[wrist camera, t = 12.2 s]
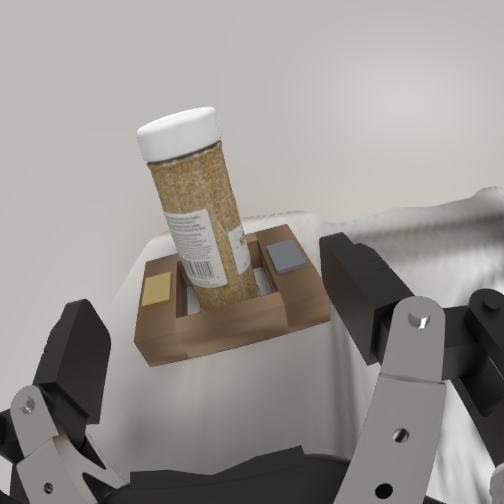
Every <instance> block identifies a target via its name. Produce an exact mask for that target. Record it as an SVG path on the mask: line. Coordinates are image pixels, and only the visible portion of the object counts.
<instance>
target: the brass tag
mask: <svg viewBox="0 0 504 504" xmlns="http://www.w3.org/2000/svg"><path fill="white" fill-rule="evenodd" d="M171 285H172V274H171V272H167V273H164V274H160V275H156V276H152V277H149V278H146V280H145V286H144V293H143V300H142V308H143V309H147V308H151V307H156V306H160V305H164V304H168V303H171Z"/></svg>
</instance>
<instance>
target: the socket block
mask: <svg viewBox="0 0 504 504" xmlns="http://www.w3.org/2000/svg"><path fill="white" fill-rule="evenodd" d="M245 239H246V242H247V246H248V250H249V254H250V261H251V265H252V269H253V268H257V267H260V266H263V267H264V269H265V272H266V274H267V277H268V280H269V282H270V285H271V287H272V290H273V292H274V293H271V294H268V295H264V296H261V297H257V298H253V299H250V300H246V301H242V302H238V303H235V304H231V305H227V306H223V307H219V308H216V309H212V310H208V311H204V312H200V313H196V314H192V315H188V316H187V287H186V286H189V285H192V282H191V281H190V279H189V277H188V275H187V273H186V270H185V268H184V265H183V263H182V260H181V258H180V255H179V253H177V254H173V255H169V256H166V257H162V258H159V259H155V260H151V261H148V262H146V265H145V271H144V277H143V282H142V288H141V295H140V301H139V308H138V314H137V322H136V329H135V337H134V343H135V345H136V346H137V348H138V349H139V351H140V352H141V354H142V355H143V357H144V358H145V360H146V361H147V363H148V364H149V365H150V367H152V366H157V365H162V364H167V363H172V362H176V361H181V360H186V359H190V358H195V357H199V356H204V355H208V354H212V353H216V352H220V351H224V350H228V349H232V348H236V347H240V346H244V345H248V344H252V343H255V342H259V341H263V340H266V339H270V338H274V337H277V336H281V335H284V334H287V333H291V332H294V331H298V330H301V329H304V328H307V327H311V326H314V325H317V324H320V323H323V322H326V321H329V320H330V302H329V296H328V294H327V292H326V290H325V287H324V284H323V281H322V279H321V277H320V276H319V274H318V272H317V271H316V269H315V268H314V266H313V264H312V263H311V261H310V260H309V258H308V256H307V255H306V253H305V252H304V250H303V248H302V247H301V245H300V244H299V242H298V240H297V239H296V237H295V236H294V234H293V233H292V231H291V229H290V228H289V226H288V225H287V224H285V225H281V226H278V227H274V228H270V229H266V230H262V231H258V232H255V233H251V234H247V235H245ZM290 239H293V241H294V243H295V244H296V246H297V248H298V249H299V251H300V253H301V254H302V256H303V257H304V259H305V261H306V262H307V266H306V267H302V268H299V269H295V270H292V271H288V272H284V273H281V274H277V272H276V269H275V267H274V265H273V263H272V260H271V258H270V256H269V254H268V251H267V248H266V246H268V245H272V244H276V243H279V242H283V241H287V240H290ZM167 272H171V274H172V285H171V303H168V304H164V305H160V306H156V307H151V308H147V309H143V308H142V300H143V293H144V286H145V280H146V278H149V277H152V276H156V275H160V274H164V273H167Z"/></svg>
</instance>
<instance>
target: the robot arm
mask: <svg viewBox="0 0 504 504" xmlns="http://www.w3.org/2000/svg"><path fill="white" fill-rule="evenodd" d="M319 246H320V258H321V271H322V280H323V284H324V287H325V290H326V292H327V294H328V296H329V298H330V300H331V301H332V303H333V305H334V307H335V308H336V310H337V312H338V314H339V315H340V317H341V319H342V321H343V323H344V324H345V326H346V328H347V330H348V331H349V333H350V335H351V337H352V339H353V340H354V342H355V344H356V346H357V348H358V350H359V351H360V353H361V355H362V357H363V359H364V361H365V362H366V364H367V366H369V365H371V364H374V363H377V362H379V363H380V365H381V371H380V374H379V376H378V380H377V383H376V387H375V390H374V394H373V397H372V401H371V404H370V407H369V411H368V414H367V417H366V420H365V423H364V426H363V429H362V432H361V435H360V438H359V441H358V444H357V446H356V449H355V452H354V455H353V457H352V460H349V459H347V458H343V457H339V456H334V455H327V454H304V452H303V449H302V446H301V445H300V446H296V447H293V448H289V449H285V450H281V451H277V452H273V453H269V454H265V455H261V456H256V457H254V458H252V459H250V460H248V461H245V462H243V463H241V464H239V465H236V466H234V467H232V468H229V469H227V470H224V471H222V472H220V473H217V474H214V475H203V474H194V473H186V472H179V471H172V470H159V471H141V472H130V483H128V484H126V483H125V482H124V481H123V480H122V479H121V478H119V477H118V476H117V474H116V473H115V472H114V471H113V469H112V468H111V467H110V465H109V464H108V462H107V461H106V459H105V458H104V456H103V455H102V453H101V452H100V450H99V449H98V447H97V446H96V444H95V442H94V441H93V439H92V438H91V436H90V435H89V434H88V433H87V432H86V431H85V430H86V425H89V424H99V421H100V413H101V405H102V398H103V391H104V385H105V378H106V372H107V366H108V361H109V355H110V350H111V338H110V334H109V332H108V330H107V328H106V327H105V325H104V324H103V322H102V321H101V319H100V318H99V316H98V314H97V313H96V311H95V309H94V308H93V306H92V304H91V303H90V302H89V301H88V300H87V299H82V300H78V301H74V302H70V303H67V304H66V306H65V308H64V310H63V313H62V315H61V318H60V320H59V321H58V322H57V324H56V325H55V326H54V327H53V329H52V330H51V332H50V335H49V337H48V340H47V344H46V346H45V348H44V354H42V357H41V360H40V363H39V365H38V368H37V371H36V375H35V378H34V381H33V384H32V385H30V386H26V387H24V388H23V389H21V390H20V391H19V392H18V393H17V394H16V395H15V397H14V398H13V401H12V403H11V408H10V409H8V410H5V411H3V412H0V455H1V456H2V457H4V458H5V459H7V460H8V461H10V462H11V463H13V466H12V474H11V485H10V495H9V496H8V495H6V494H4V493H3V492H2V491H1V490H0V504H446V503H443V502H440V501H438V500H435V499H433V498H431V497H428V496H426V495H425V494H426V490H427V487H428V483H429V479H430V476H431V472H432V468H433V463H434V459H435V455H436V450H437V445H438V440H439V435H440V429H441V424H442V417H443V411H444V404H445V395H446V385H445V383H442V382H441V381H443V380H449V379H450V380H451V382H452V384H453V386H454V387H455V389H456V391H457V393H458V394H459V396H460V398H461V400H462V402H463V403H464V405H465V407H466V409H467V411H468V413H469V415H470V416H471V418H472V420H473V422H474V424H475V426H476V428H477V430H478V432H479V434H480V436H481V438H482V440H483V442H484V444H485V446H486V448H487V450H488V452H489V454H490V457H491V459H492V461H493V463H494V465H495V468H496V469H495V470H494V472H493V474H492V477H491V481H490V489H489V493H490V495H491V497H492V504H504V379H503V378H504V295H503V294H502V293H500V292H498V291H496V290H493V289H480V290H477V291H475V292H474V293H473V294H472V295H471V297H470V300H469V303H468V305H466V306H459V307H451V308H442V307H441V306H440V305H439V304H438V303H437V302H435V301H434V300H432V299H429V298H426V297H422V296H415V295H414V294H413V293H412V292H411V291H410V289H409V288H408V287H407V286H406V285H405V284H404V283H403V281H402V280H401V279H400V278H399V277H398V276H397V275H396V273H395V272H394V271H393V270H392V269H391V268H389V266H388V264H387V263H386V262H385V261H384V260H382V258H381V257H380V256H379V254H378V253H377V252H376V251H375V250H374V249H372V248H370V247H368V246H366V245H364V244H362V243H358V244H353V243H352V242H351V241H350V240H349V238H348V237H347V236H346V235H345V234H344V233H343V232H340V233H336V234H333V235H329V236H325V237H321V238H320V240H319ZM490 359H491V360H492V361H493V363H494V364H495V366H496V367H497V369H498V370H499V372H500V373H501V375H502V376H501V375H500V373H499V372H498V370H497V369H496V367H495V366H494V364H493V363H492V361H491V360H490ZM502 377H503V378H502Z"/></svg>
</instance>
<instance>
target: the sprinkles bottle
mask: <svg viewBox="0 0 504 504" xmlns="http://www.w3.org/2000/svg"><path fill="white" fill-rule="evenodd" d="M221 137H222V132H221V127H220V123H219V120H218V116H217V113H216V110H215V109H214V108H212V107H203V108H196V109H191V110H186V111H183V112H179V113H176V114H172V115H169V116H166V117H163V118H161V119H158V120H155V121H153V122H151V123H149V124H147V125H145V126H143V127H141V128H139V129H138V131H137V139H138V142H139V146H140V150H141V153H142V156H143V159H144V160H145V161H147V162H148V163H147V166H148V168H149V169H150V170H151V173H152V177H153V179H154V182H155V186H156V188H157V191H158V194H159V198H160V200H161V203H162V206H163V212H164V215H165V218H166V221H167V223H168V226H169V229H170V231H171V234H172V237H173V240H174V242H175V245H176V247H177V250H178V253H179V255H180V258H181V260H182V263H183V265H184V268H185V270H186V273H187V275H188V277H189V279H190V281H191V282H192V285H193V287H194V290H195V292H196V294H197V297H198V299H199V302H200V303H199V304H200V309H201V311H202V312H204V311H208V310H212V309H216V308H219V307H223V306H227V305H231V304H235V303H238V302H242V301H246V300H250V299H253V298H257V297H260V290H259V287H258V285H257V284H256V281H255V277H254V273H253V270H252V265H251V261H250V254H249V250H248V246H247V242H246V239H245V235H244V231H243V227H242V223H241V220H240V216H239V212H238V208H237V204H236V200H235V197H234V194H233V192H232V188H231V184H230V180H229V177H228V171H227V168H226V165H225V160H224V155H223V153H222V148H221V147H222V142H221V141H220V139H221Z"/></svg>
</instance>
